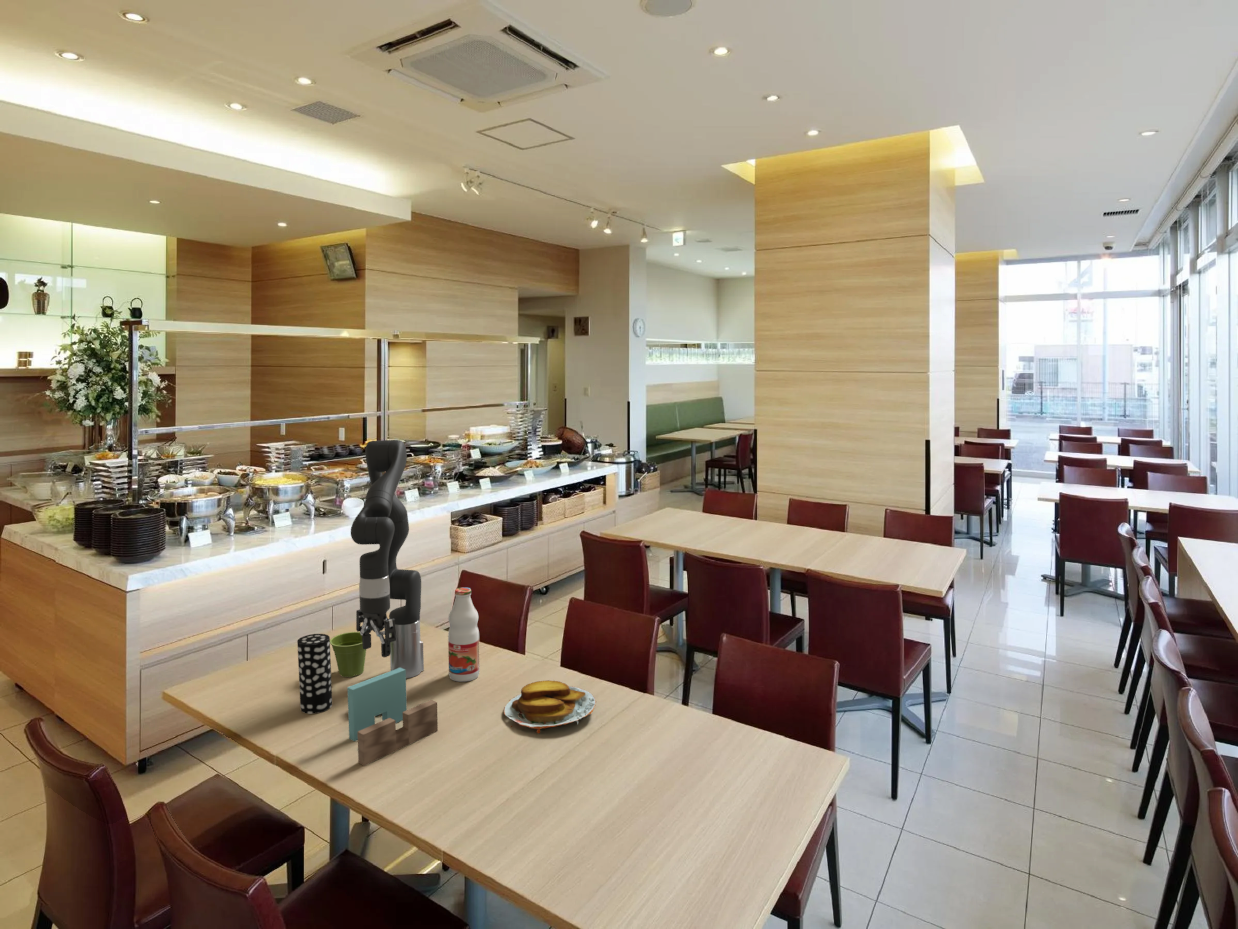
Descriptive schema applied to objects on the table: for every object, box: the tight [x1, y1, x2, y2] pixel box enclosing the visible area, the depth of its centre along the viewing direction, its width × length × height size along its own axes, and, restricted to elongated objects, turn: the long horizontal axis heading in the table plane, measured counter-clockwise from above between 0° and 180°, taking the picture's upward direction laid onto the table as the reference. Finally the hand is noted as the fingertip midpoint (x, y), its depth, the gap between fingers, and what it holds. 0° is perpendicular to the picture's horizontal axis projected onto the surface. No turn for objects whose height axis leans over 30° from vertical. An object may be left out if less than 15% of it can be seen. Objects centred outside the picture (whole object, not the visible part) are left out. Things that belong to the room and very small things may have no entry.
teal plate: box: [346, 668, 408, 742], centre depth 192 cm, size 2×16×14 cm, turn 142°
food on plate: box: [503, 679, 597, 734], centre depth 203 cm, size 26×26×7 cm
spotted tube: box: [296, 633, 333, 715], centre depth 203 cm, size 8×8×20 cm
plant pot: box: [330, 631, 367, 678], centre depth 226 cm, size 12×12×11 cm
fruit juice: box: [447, 587, 480, 683], centre depth 224 cm, size 9×9×28 cm
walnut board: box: [357, 699, 439, 767], centre depth 184 cm, size 22×2×8 cm, turn 142°
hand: (376, 652), depth 190 cm, fingers open, 8 cm apart
